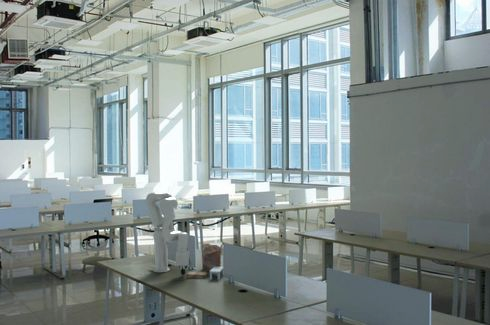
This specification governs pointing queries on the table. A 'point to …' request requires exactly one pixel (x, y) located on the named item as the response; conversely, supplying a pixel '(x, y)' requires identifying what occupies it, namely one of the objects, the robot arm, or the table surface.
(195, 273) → the panel
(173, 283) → the table surface
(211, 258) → the stone
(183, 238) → the robot arm
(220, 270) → the bridge
